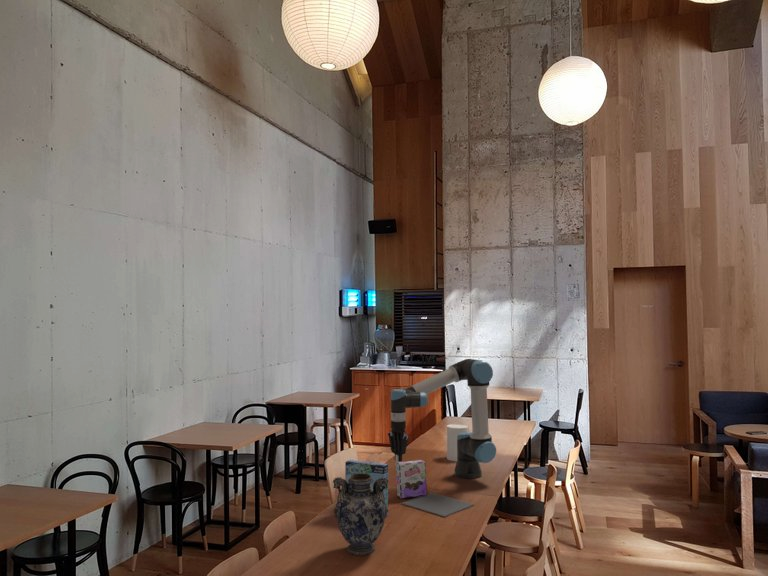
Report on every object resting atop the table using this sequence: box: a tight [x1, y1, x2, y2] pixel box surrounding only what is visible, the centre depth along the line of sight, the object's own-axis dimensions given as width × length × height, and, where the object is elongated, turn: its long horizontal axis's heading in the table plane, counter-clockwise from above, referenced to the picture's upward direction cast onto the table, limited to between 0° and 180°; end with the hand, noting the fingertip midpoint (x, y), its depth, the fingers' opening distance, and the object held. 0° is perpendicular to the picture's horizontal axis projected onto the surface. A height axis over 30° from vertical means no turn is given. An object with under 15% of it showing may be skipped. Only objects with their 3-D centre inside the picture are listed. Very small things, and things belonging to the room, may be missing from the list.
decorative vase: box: [332, 474, 389, 556], centre depth 227 cm, size 21×19×28 cm
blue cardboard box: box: [344, 459, 389, 518], centre depth 267 cm, size 20×5×23 cm, turn 66°
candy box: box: [395, 459, 428, 499], centre depth 292 cm, size 14×6×16 cm, turn 105°
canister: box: [446, 423, 470, 462], centre depth 366 cm, size 14×14×20 cm
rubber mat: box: [401, 492, 475, 518], centre depth 279 cm, size 22×26×1 cm
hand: (398, 467), depth 298 cm, fingers closed
